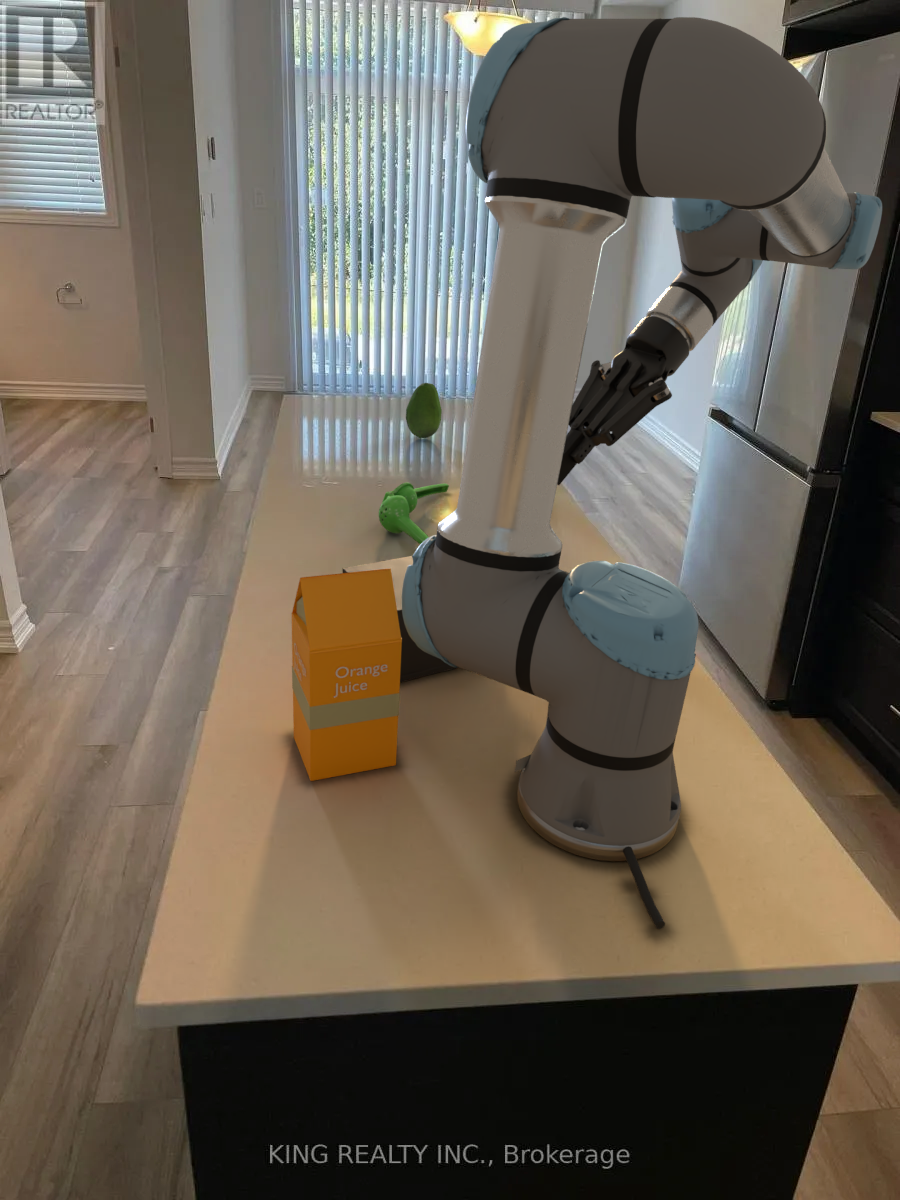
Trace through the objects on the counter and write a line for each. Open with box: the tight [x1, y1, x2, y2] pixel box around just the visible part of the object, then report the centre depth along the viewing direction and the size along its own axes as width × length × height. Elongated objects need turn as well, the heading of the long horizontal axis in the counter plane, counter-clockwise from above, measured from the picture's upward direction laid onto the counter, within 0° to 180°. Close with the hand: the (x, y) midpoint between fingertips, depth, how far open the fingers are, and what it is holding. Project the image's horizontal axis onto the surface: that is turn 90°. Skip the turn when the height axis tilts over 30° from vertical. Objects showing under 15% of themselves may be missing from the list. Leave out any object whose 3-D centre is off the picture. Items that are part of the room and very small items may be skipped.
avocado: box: [405, 382, 443, 439], centre depth 188 cm, size 8×8×12 cm
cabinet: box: [342, 555, 456, 683], centre depth 105 cm, size 15×13×10 cm
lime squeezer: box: [378, 481, 450, 545], centre depth 143 cm, size 34×12×6 cm, turn 1°
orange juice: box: [291, 568, 402, 782], centre depth 83 cm, size 8×9×20 cm
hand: (550, 477), depth 108 cm, fingers closed
